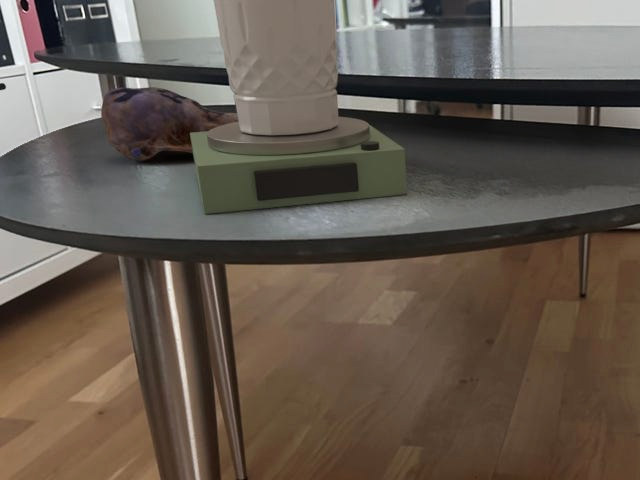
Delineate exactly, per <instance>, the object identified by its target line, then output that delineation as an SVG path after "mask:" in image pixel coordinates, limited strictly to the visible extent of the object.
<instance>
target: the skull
mask: <svg viewBox="0 0 640 480" xmlns="http://www.w3.org/2000/svg"><path fill="white" fill-rule="evenodd" d="M100 114H101V115H100V117H101V121H102V122H103V125H104V128H105V129H106V131H107V136H106V141H107V143H108V144H109V146H110V147H111V148H114V149H115V150H116V151H118V152H119V153H120V154H121V155H122V156H124V157H125V158H128V159H131V160H134V161H137V162H145V160H146V161H148V160H150V159H152V158H154V157H155V156H156V155H158V153H161V152H162V151H171V152H187V153H190V154H193V150H192V143H191V137H190V133H193V132H206V131H209V130H211V129H213V128H215V127H218V126H221V125H225V124H229V123H234V122H238V118H237V112H236V113H235V112H220V111H216V110H211V109H210V108H207V107H205V106H204V105H203V104H201V103H199V102H198V101H197V100H195V99H192V98H190V97H187V96H183V95H180V94H179V93H177V92H174V91H172V90H169V89H166V88H162V87H154V86H152V87H151V86H150V87H140V88H139V87H137V88H135V87H134V88H133V87H123V86H121V87H116V88H113V89H112V90H110V91H108V92H107V93H105V95H104V97H103V101H102V104H101V112H100Z"/></svg>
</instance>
